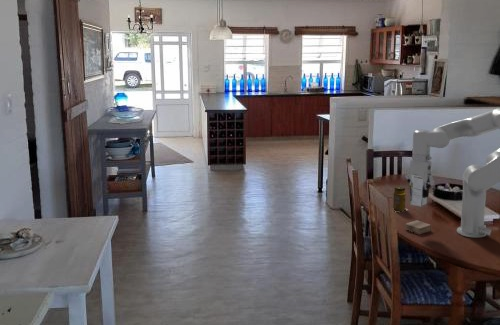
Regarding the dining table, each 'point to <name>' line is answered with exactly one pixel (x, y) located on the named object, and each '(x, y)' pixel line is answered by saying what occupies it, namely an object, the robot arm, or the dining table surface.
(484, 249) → the dining table surface
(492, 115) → the robot arm
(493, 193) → the dining table surface
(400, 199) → the condiment
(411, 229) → the tan flat square box
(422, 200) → the syrup box
